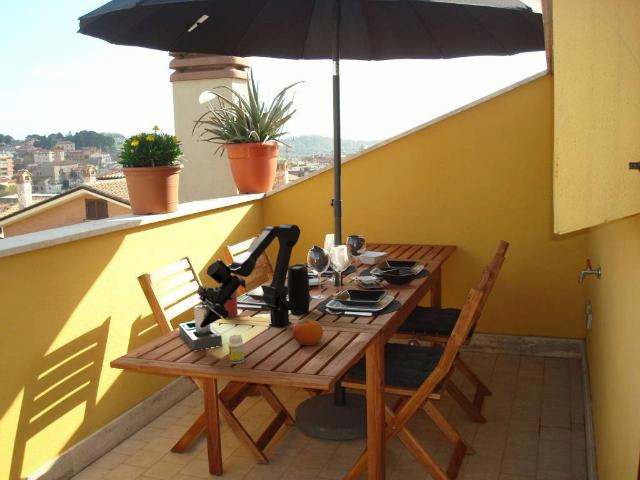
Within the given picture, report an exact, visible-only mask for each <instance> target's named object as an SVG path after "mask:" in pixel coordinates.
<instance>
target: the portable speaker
mask: <svg viewBox="0 0 640 480" xmlns="http://www.w3.org/2000/svg"><path fill="white" fill-rule="evenodd" d="M308 272H309V271H308V267H307V266H306V265H305V264H303V263H296V264H294V265H289V266H288V271H287V276H286V283H287V300H288V301H289V302H290V303H291V304H292V308H291V310H289V312H290V313H291V314H292V315H294V316H297V315H298V316H300V315H301V314H302V313H303V314H304V313H306V314H309V313H310V299H311V297H310V278H309V273H308Z"/></svg>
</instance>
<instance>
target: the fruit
mask: <svg viewBox="0 0 640 480" xmlns="http://www.w3.org/2000/svg"><path fill="white" fill-rule="evenodd" d="M323 330H324V329H323V327H322V325H321V324H320V322H317V321H315V320H314V319H305V320H300V321H298V322H297V323H295V325H294V326H293V328H292V338H293V339H294V340H295V342H296V343H298V344H299V345H304V346H314V345H316V344H318V343H320V341H321V340H322V339H323V335H324V331H323Z"/></svg>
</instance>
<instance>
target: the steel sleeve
mask: <svg viewBox="0 0 640 480" xmlns="http://www.w3.org/2000/svg"><path fill="white" fill-rule="evenodd" d="M207 307H208V306H207V305H201V304H200V305H196V306H194V307H193V313H194V314H193V315H194V321H195V327H196V337H201V336H207V335H211V334H210V325H211V324H209V325H207V326H205V327H203V328H201V327H200V325H201V323H202V321H203V320H204V318H205V316H206V315H207V313H208V310H207Z"/></svg>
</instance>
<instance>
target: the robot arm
mask: <svg viewBox="0 0 640 480" xmlns="http://www.w3.org/2000/svg"><path fill="white" fill-rule="evenodd" d="M300 236H301V229H300V227H299V226H298V225H297V224H291V223H282V224H281V225H273V226H270V225H268V226H266V227H265V228H264V231H263V232H262V233H260V235H259V237H258V238H256V240H254V242H253V244H252V245H251V246H250V247H249V248H248V250H247V251H246V252H244V253H242V254H241V255H239V256H238V257H237V258H235V259H234V260H232V262H231V263H230V264H228V265H226V263H225V262H224V261H222V260H221V259H217V260H216V261H215V262H213V263H211V264H210V265H209V266H208V267H207V269H206V275H208V276H209V278H211V279H212V280H214V281H215V282H216V283H217V284H220V285H219V286H215V287H214V288H213V287H211V286H203V285H200V284H199V287H198V288H197V292H196V294H197V295H198V296H199V297H198V300H200V301H199V302H200V305H207V306H208V307H207V310H208V313H207V315H206V316H205V318H204V320H203V321H202V323H201V325H200V327H201V328H203V327H205V326H207V325H209V324H210V325H211V324H213V323H215V322H217V321H219V320H222V319H224V320H227V319H229V318H228V316H229V311H227V310H226V309H225V307H224V306H225V304H226V303H227V302H228V301H229V300H232V299H233V298H231V297H232V296H233V294H234V293H235V292H236V293H237V290H238V289H239V288H240V287H242V288H244V289H246V288H247V286H246V280H245V279H244V278H248V277H249V276H251V274H252V273H253V272H254V269H255V268H256V265H257V262H258V259H259V258H260V257H261V256H262V255H263V253H264V252H265V251H266V250H267V249H268V247H269V246H270V245H271V243H272V242H274V240H275V239H276V238H277V240H278V245H279V248H278V253H277V257H276V261H275V266H274V271H273V276H272V281H271V283H270V284H269V286H268V285H266V286H265V287H264V291H263V292H264V293H263V302H264V303H265V305H266V306H267V308H268V309H270V313H269V315H270V323H269V325H268V326H271V327H276V328H281V329H282V328H285V327H287V326H289V325H291V324H292V321H290V313H289V312H290V310H291V308H292V304H291V303H290V302H289V301H288V298H287V296H288V291H287V289H286V282H287V277H288V266H290V261H291V256H292V251H293V248H294V246H296V244H297V243H298V242H299V239H300ZM232 274H233V275H232ZM238 276H239V277H238ZM240 277H243V278H240Z"/></svg>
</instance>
